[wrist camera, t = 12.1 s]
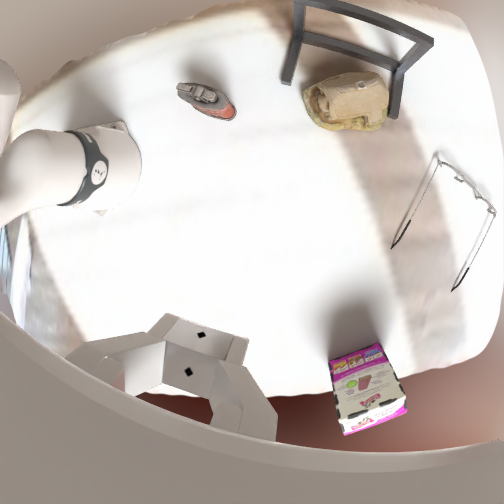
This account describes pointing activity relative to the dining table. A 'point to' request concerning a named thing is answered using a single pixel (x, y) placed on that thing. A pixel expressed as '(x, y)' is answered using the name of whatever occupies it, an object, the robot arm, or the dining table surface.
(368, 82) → the ceramic model
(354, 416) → the candy bar box
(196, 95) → the lighter
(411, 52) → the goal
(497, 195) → the dining table surface
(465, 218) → the dining table surface
